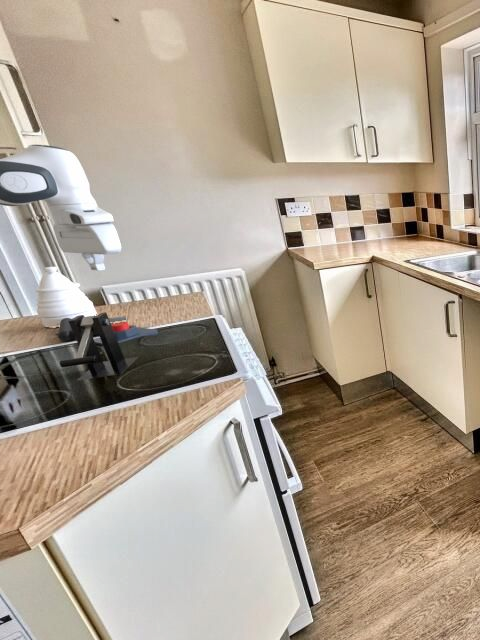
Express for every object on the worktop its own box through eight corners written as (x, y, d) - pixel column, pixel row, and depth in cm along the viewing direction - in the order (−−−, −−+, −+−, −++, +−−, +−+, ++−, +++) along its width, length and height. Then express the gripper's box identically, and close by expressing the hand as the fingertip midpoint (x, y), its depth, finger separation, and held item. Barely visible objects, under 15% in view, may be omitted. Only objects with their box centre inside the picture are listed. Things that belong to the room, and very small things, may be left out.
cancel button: (118, 332, 115) (115, 326, 115) (110, 331, 116) (107, 325, 116) (133, 328, 118) (130, 322, 118) (125, 327, 120) (122, 321, 119)
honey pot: (104, 319, 139) (82, 264, 132) (50, 331, 129) (23, 272, 122) (91, 313, 145) (69, 261, 139) (38, 324, 135) (12, 269, 129)
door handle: (123, 310, 139) (54, 318, 129) (127, 323, 126) (49, 334, 115) (126, 319, 140) (57, 329, 130) (130, 333, 127) (53, 345, 116)
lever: (98, 365, 89) (92, 357, 87) (64, 370, 87) (57, 362, 85) (110, 321, 97) (105, 314, 95) (79, 325, 94) (73, 317, 93)
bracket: (123, 378, 95) (99, 320, 90) (77, 385, 92) (50, 326, 87) (140, 361, 104) (120, 307, 99) (99, 367, 101) (76, 312, 96)
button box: (110, 350, 112) (105, 338, 111) (90, 346, 115) (85, 334, 114) (159, 335, 122) (155, 323, 121) (139, 332, 125) (135, 321, 124)
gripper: (37, 217, 107) (61, 270, 112) (85, 217, 100) (107, 274, 105) (69, 214, 113) (89, 266, 118) (116, 214, 106) (136, 269, 111)
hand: (98, 270), depth 111 cm, fingers closed
